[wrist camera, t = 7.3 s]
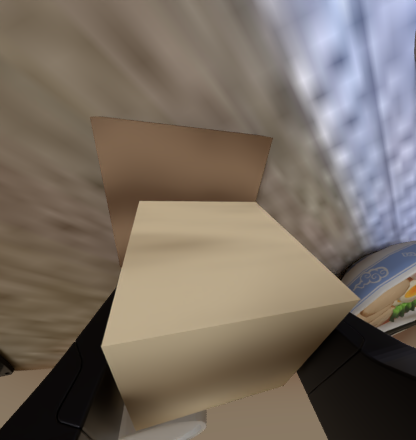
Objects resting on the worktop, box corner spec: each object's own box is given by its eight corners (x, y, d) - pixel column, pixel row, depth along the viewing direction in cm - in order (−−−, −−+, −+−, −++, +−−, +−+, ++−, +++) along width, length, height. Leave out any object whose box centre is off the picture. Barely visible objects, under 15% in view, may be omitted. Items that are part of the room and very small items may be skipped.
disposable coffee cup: (95, 305, 20) (31, 487, 10) (140, 254, 18) (113, 426, 8) (162, 321, 25) (162, 457, 15) (205, 282, 23) (238, 413, 13)
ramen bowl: (460, 192, 25) (570, 221, 18) (394, 285, 38) (445, 323, 31) (307, 239, 23) (368, 292, 16) (291, 322, 36) (322, 371, 29)
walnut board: (233, 246, 20) (239, 257, 19) (124, 252, 17) (120, 267, 16) (260, 135, 14) (272, 137, 13) (100, 116, 11) (89, 116, 10)
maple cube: (234, 277, 12) (283, 385, 7) (147, 286, 11) (136, 430, 6) (255, 202, 9) (360, 299, 4) (139, 201, 8) (101, 346, 3)
